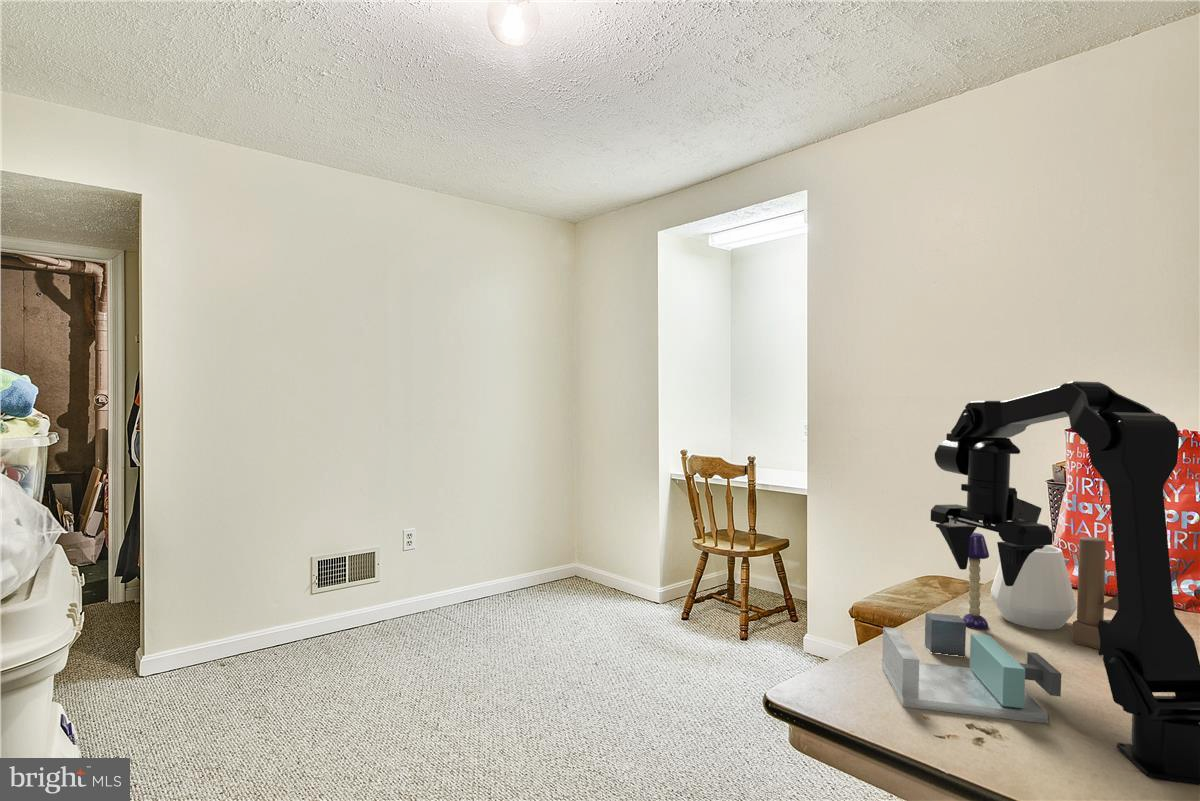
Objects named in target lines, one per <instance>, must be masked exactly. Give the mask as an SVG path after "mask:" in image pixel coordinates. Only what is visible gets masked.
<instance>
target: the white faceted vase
mask: <svg viewBox="0 0 1200 801" xmlns="http://www.w3.org/2000/svg"><path fill="white" fill-rule="evenodd" d="M1069 576H1070V575H1069V572H1068V568H1067V564H1066V560H1065V556H1064V553H1063V550H1062V549H1061V548H1058V547H1056V546H1053V545H1045V546H1044V548H1043V549H1036V550H1035V551H1033V552H1032V553H1031V554H1030V555H1029V556H1028V557H1027V559H1026V560H1025V562H1024V564H1023V566H1022V568H1021V570H1020V572H1019V574H1018V576H1017V578H1016V581H1015V583H1014V585H1013V586H1006V585H1005V582H1004V578H1003V574H1002V568H1001V562H999V563H998V568H997V570H996V573H995V577H994V578H993V582H992V585H991V587H990V588H991V590H990V595H991V599H992V601H993V603H994V604H995V606H996V608H997V610H998V611H999V613H1000V614H1001V616H1002V618H1003V619H1005V620H1007V621H1009V622H1010V623H1013V624H1016V625H1019V626H1023V627H1027V628H1031V629H1036V630H1052V631H1053V630H1059V629H1061V628H1063V626H1064V625H1065V624H1066V623H1067V622H1068V621H1069V619H1070V618H1071V617H1072V616H1073V615H1074V613H1076V612H1077V602H1076V597H1075V595H1074V591H1073V587H1072V583H1071V579H1070V577H1069Z"/></svg>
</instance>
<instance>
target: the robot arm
mask: <svg viewBox="0 0 1200 801" xmlns="http://www.w3.org/2000/svg"><path fill="white" fill-rule="evenodd" d="M964 408H965V409H963V410H962V412H961V414H960V416H959V418H958V420H957V422H956V424H955V425H954V426H953V428H952V430H950V432H949V433H948V432H947V433H946V437H945V438H946V439H945V440H944V441H942V442H941V443H939V445H938V446H937V448H936V450H935V451H934V460H935V463H936V465H937V467H939V468H940V469H941V470H942V471H944V472H949V473H954V474H959V475H964V476H967V483H961V484H960V486H961V488H960V490H961V491H962V492H967V493H966V495H967V496H966V506H964V505H961V504H934V506H933V507H932V508H931V509H930V521H931V522H934V523H935V528H938V529H939V530H940V533H941V535H942V537H943V538H944V540H945V542H946V544H947V545H948V548H949V550H950V551H951V554H952V556H953V558H954V560H955V562H956V564H957V567H958V568H959V570H967V567H968V564H969V558H968V555H969V543H970V536H971V535H972V533H975V531H976V529H977V528H980V529H984V530H988V531H992V532H996V533H998V536H999V538H1000V539H1001V541H997V542H996V543H997V544H996V545H997V549H998V550H997V551H998V555H999V561H1000V562H1001V568H1002V574H1003V578H1004V582H1005V585H1006V586H1013V585H1014V583H1015V581H1016V578H1017V576H1018V574H1019V572H1020V570H1021V568H1022V566H1023V564H1024V562H1025V560H1026V559H1027V557H1028V556H1029V555H1030V554H1031V553H1032V552H1033V551H1035V550H1036V549H1043V548H1044V546H1045V545H1050V546H1053V540H1054V539H1053V538H1054V533H1053V532H1054V531H1053V530H1052V529H1051V528H1050V527H1049V525H1047V524H1042V523H1039V522H1038V521H1039V518H1040V516H1041V513H1042V509H1043V508H1042V507H1040V506H1038V505H1036V504H1033V503H1030V502H1028V501H1025V500H1023V499H1020V498H1018V491H1017V490H1016V487H1010V478H1011V477H1010V474H1011V455H1019V454H1021V450H1020V448H1019V447H1018V446H1017V445H1016V444H1014V443H1013V442H1012V440H1011V438H1012V437H1015V436H1017V435H1019V434H1022V433H1023V432H1025V431H1026V429H1027V428H1028V427H1029V426H1031V425H1035V424H1040V423H1045V422H1049V421H1054V420H1058V419H1063V418H1064V419H1065V418H1069V424H1070V428H1071V429H1072V431H1073V432H1074V433H1075V434H1076V435H1078V436H1079V437H1080V438H1081V439H1082V440H1083V441H1084V442H1085V443H1086V445H1087V449H1088V454H1089V458H1090V462H1091V465H1092V466H1093V468H1094V469H1095V471H1097V473H1098V475H1100V477H1101V478H1102V480H1104V482H1105V484H1106V486H1107V487H1108V493H1109V494H1108V495H1109V504H1110V518H1111V528H1112V529H1111V530H1112V541H1113V553H1114V554H1113V555H1114V564H1115V566H1114V567H1115V580H1116V590H1117V595H1118V610H1117V611H1116V612H1115V614H1114V615H1113V617H1112V618H1111V619H1104V620H1100V621H1099V624H1098V632H1099V636H1100V649H1098V655H1099V656H1102V661H1103V665H1104V668H1105V671H1106V675H1107V676H1106V677H1107V679H1108V684H1109V688H1110V692H1111V697H1112V700H1113V702H1114V703H1115V704H1117V705H1118V706H1120V707H1121V708H1122V711H1124V712H1125V713H1127V714H1130V715H1131V743H1127V742H1126V743H1124V742H1117V743H1116V748H1117V749H1118V750H1119V751H1120V752H1121V753H1122V754H1123V755H1125V757H1127V758H1128V759H1129V760H1130V761H1131V762H1132V763H1134V765H1135V766H1137V767H1138V768H1139V769H1140V770H1141V771H1142V772H1143V773H1144V774H1145V775H1146V776H1148V777H1150V778H1153V779H1161V780H1170V781H1177V782H1184V783H1193V784H1200V659H1199V654H1198V650H1197V647H1196V646H1197V645H1196V642H1195V639H1194V637H1193V636H1192V635H1191V634H1190V633H1189V631H1188V629H1187V628H1186V627H1185V626H1184V624H1183V623H1182V622H1181V620H1180V619H1179V618H1178V617H1177V615H1176V611H1175V604H1174V596H1173V584H1172V573H1171V563H1170V561H1171V560H1170V552H1169V540H1168V529H1167V528H1168V527H1167V521H1166V520H1167V519H1166V518H1167V517H1166V507H1165V496H1164V486H1165V484H1166V483H1167V481H1168V480H1169V479H1170V477H1171V475H1172V473H1173V471H1174V470H1175V469H1176V467H1177V465H1178V460H1179V459H1178V458H1179V456H1178V455H1179V444H1180V435H1179V430H1178V427H1177V425H1176V423H1175V422H1174V421H1172V420H1171V419H1169V418H1168V417H1167V416H1165V415H1164V414H1160V413H1157V412H1154V411H1153V410H1152V409H1151V408H1150V407H1148V406H1146V405H1145V404H1141V403H1140V402H1138V401H1135V400H1133V399H1131V398H1129V397H1126V396H1124V395H1122V394H1120V393H1118V392H1116V391H1115V390H1113V389H1112V388H1111V387H1110V386H1108V385H1107V384H1105V383H1102V382H1100V381H1073V380H1072V381H1068V382H1065V383H1063V384H1060V385H1059V386H1056V387H1052V388H1049V389H1048V388H1047V389H1045V390H1041V391H1037V392H1034V393H1030V394H1026V395H1022V396H1019V397H1016V398H1012V399H1008V400H971V401H969V402H968V403H967V404H966V405H965V406H964ZM1000 562H999V563H1000ZM1154 693H1174V695H1154Z"/></svg>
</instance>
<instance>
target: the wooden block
mask: <svg viewBox="0 0 1200 801" xmlns="http://www.w3.org/2000/svg"><path fill="white" fill-rule="evenodd" d="M1078 540H1079V541H1078V564H1077V565H1078V569H1077V570H1078V571H1077V597H1076V598H1077V602H1076V607H1077V608H1076V620H1075V621H1074V620H1073V621H1072V634H1071V635H1072V636H1071V638H1072V639H1071V640H1072V642H1073V643H1074V644H1077V645H1082V646H1085V647H1089V648H1093V649H1096V650H1099V649H1100V636H1099V632H1098V624H1099V621H1100V620H1105V618H1104V616H1105V609H1107V610H1111V611H1116V612H1117V610H1118V594H1117V595H1115V596H1114V597H1112V598H1110V599H1108V600H1107V601H1105V587H1106V586H1105V585H1106V581H1105V580H1106V577H1105V576H1106V554H1107V553H1106V549H1107V548H1106V547H1107V543H1106V539H1103V538H1099V537H1095V536H1081V537H1079V539H1078Z"/></svg>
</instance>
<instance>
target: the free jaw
mask: <svg viewBox="0 0 1200 801" xmlns="http://www.w3.org/2000/svg"><path fill="white" fill-rule="evenodd" d="M969 643H970V646H969V647H970V649H969V650H970V651H969V668H970V669H971V670H972V671H973V672H974V673H975V675H976V676H977V677H978V678H979V679H980V680H981V681H982V683H983V684H984V685H985V686H986V687H987V688H988V690H989V691H990V692H991V693H992V694H993V695H994V697H995V698H996V699H997V700H998V701H999V702H1000V703H1001V705H1002V706H1009V707H1018V708H1024V698H1025V691H1026V690H1025V689H1026V687H1025V686H1026V681H1035V683H1036V684H1038V685H1039V686H1040V687H1041V688H1042V689H1043V690H1044V691H1045V693H1047V694H1048V695H1049V696H1053V697H1060V698H1061V696H1062V672H1060V671H1059V670H1058V669H1057V668H1055V667H1054V666H1053V665H1052V664H1051V663H1049V661H1047V660H1046V659H1045V658H1044V657H1043V656H1041V655H1040V654H1039V653H1038V652H1030V651H1027V652H1026V653H1027V654H1026V656H1027V657H1026V663H1023V662H1018V661H1017V660H1016V659H1015V658H1014V657H1013V656H1012V655H1011V654H1010V653H1009V652H1008V651H1006V649H1004V648H1003V647H1002V646H1001V645H1000V644H999V643H998V642H997V641H996V640H994V638H993V637H991V635H985V634H976V633H974V634H973V633H971V634H970V642H969Z"/></svg>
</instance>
